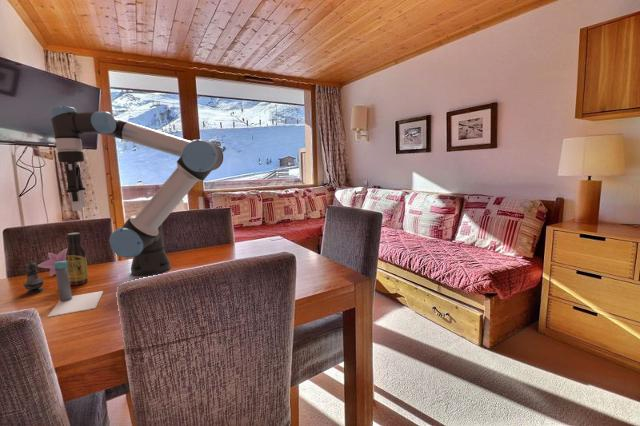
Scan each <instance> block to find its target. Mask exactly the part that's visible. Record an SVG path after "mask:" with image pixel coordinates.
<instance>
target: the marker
mask: <svg viewBox="0 0 640 426" xmlns="http://www.w3.org/2000/svg"><path fill="white" fill-rule="evenodd" d="M54 269H55V272H56V273H55V277H56V282H57V283H56V284H57V289H58V296H59V301H67V300H70V299H72V296H73V295H72V288H71V285H70V281H69V275H68V269H67V261H59V262H55V263H54Z"/></svg>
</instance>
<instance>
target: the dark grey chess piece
mask: <svg viewBox="0 0 640 426" xmlns="http://www.w3.org/2000/svg"><path fill="white" fill-rule="evenodd" d="M25 271H26V272H25V273H24V274H25V275H26V277H27V279H26V281H25V282H23V283H22V286H23V287H24V288H25V289H26V290H27V291H26V292H25V294H26V295H34V294H38V293H41V292H44V291H45V290H46V289H45V288H44V287H43V286H44V282H45V279H43V278H40V277H39V273H38V272H39V270H38V269H37V263H36V262H34V261H32V260H31V259H29V260H28V262H27V263H26V264H25ZM42 287H43V288H42Z"/></svg>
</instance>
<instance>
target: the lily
mask: <svg viewBox="0 0 640 426" xmlns="http://www.w3.org/2000/svg"><path fill="white" fill-rule="evenodd" d="M67 250H68V247H67V248H65V249H63V250H61V251H60V252H59V253H58V254H55V253H52V252H48V253H47V256H48V259H47V260H45V261H43V262H40V263H39V264H37V267H38V268H44V269H49V277H50V276H51V277H53V276H54V275H56V272H55V269H54V263H55V262H59V261H66V253H67Z"/></svg>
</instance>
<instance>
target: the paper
mask: <svg viewBox="0 0 640 426" xmlns="http://www.w3.org/2000/svg"><path fill="white" fill-rule="evenodd" d="M103 293H104V290H101V291H94V292H87V293H82V294H76V295H72V299H70V300H67V301H60V300H59V301H58V302H57V303H56V305H55V306H54V307H53V308H52V310H51V311H50V313H48V315H47V316H46V317H47V318H51V317H52V318H53V317H58V316H62V315H63V316H64V315H67V314H68V315H69V314H74V313H78V312H85V311H90V310H94V309H95V310H96V308H97V306H98V304H99V303H100V302H99V301H100V300H101V298H102V295H103Z"/></svg>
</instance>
